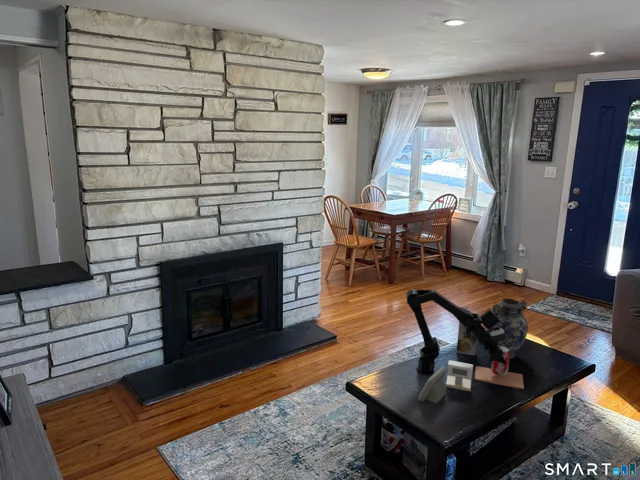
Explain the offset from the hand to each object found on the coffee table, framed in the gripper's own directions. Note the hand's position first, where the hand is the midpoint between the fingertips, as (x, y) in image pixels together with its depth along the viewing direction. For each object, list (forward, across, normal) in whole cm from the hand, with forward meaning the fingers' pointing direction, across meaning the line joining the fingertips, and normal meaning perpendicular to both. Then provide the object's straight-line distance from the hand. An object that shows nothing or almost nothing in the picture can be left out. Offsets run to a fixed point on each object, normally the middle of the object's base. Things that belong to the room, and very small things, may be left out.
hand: (503, 359), depth 208 cm
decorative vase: (+11, +25, +2) cm, 27 cm away
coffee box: (-2, +24, +15) cm, 28 cm away
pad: (+6, 0, +7) cm, 9 cm away
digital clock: (-16, -20, +30) cm, 39 cm away
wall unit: (-8, -9, +21) cm, 24 cm away
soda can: (+4, 0, +6) cm, 7 cm away
